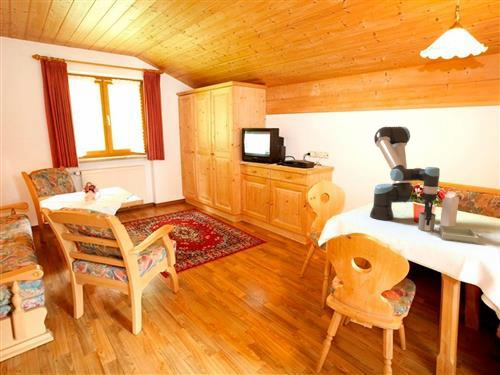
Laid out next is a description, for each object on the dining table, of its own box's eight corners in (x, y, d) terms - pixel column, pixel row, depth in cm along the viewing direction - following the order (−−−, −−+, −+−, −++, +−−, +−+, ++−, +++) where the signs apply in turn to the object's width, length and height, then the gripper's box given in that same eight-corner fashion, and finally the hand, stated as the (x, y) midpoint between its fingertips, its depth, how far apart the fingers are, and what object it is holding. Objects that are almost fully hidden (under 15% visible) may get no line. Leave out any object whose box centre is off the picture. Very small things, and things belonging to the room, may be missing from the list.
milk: (448, 227, 185) (452, 193, 181) (439, 224, 191) (443, 191, 186) (455, 226, 186) (459, 192, 182) (446, 223, 192) (450, 190, 188)
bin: (442, 239, 164) (442, 233, 163) (439, 230, 178) (439, 225, 177) (477, 244, 157) (478, 237, 156) (471, 234, 171) (472, 229, 170)
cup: (436, 232, 175) (437, 216, 174) (421, 231, 177) (422, 215, 175) (430, 227, 184) (432, 212, 182) (416, 227, 185) (417, 211, 183)
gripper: (439, 197, 163) (435, 234, 167) (435, 189, 185) (431, 222, 189) (423, 196, 167) (420, 232, 171) (421, 188, 188) (418, 220, 192)
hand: (426, 227), depth 180 cm, fingers open, 12 cm apart
